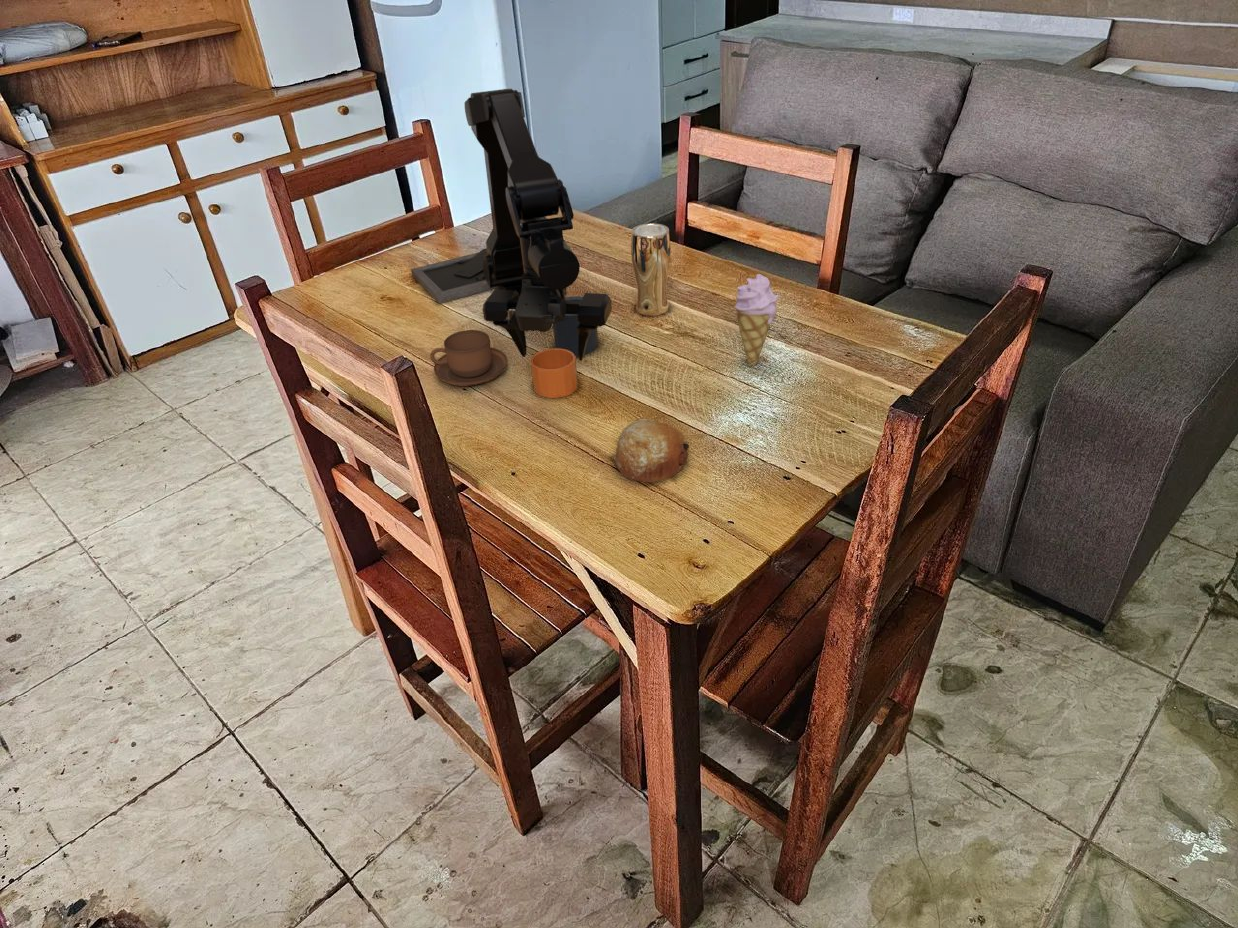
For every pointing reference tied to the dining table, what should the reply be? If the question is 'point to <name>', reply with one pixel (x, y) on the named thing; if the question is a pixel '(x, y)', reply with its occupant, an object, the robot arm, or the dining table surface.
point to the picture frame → (453, 277)
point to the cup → (554, 372)
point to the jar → (572, 332)
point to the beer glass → (651, 267)
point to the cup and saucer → (468, 359)
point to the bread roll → (650, 451)
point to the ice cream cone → (755, 314)
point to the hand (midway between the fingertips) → (552, 357)
